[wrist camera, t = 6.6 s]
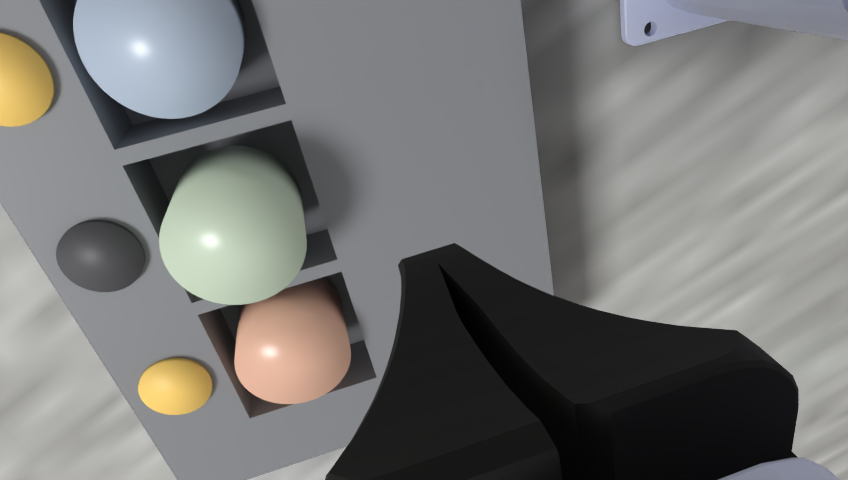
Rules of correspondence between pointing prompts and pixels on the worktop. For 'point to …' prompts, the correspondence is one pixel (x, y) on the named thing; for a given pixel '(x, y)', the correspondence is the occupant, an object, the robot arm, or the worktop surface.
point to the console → (319, 184)
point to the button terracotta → (293, 343)
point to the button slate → (162, 52)
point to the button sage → (234, 226)
